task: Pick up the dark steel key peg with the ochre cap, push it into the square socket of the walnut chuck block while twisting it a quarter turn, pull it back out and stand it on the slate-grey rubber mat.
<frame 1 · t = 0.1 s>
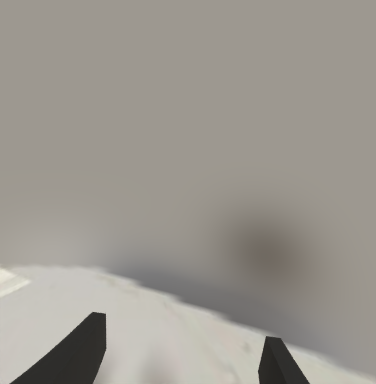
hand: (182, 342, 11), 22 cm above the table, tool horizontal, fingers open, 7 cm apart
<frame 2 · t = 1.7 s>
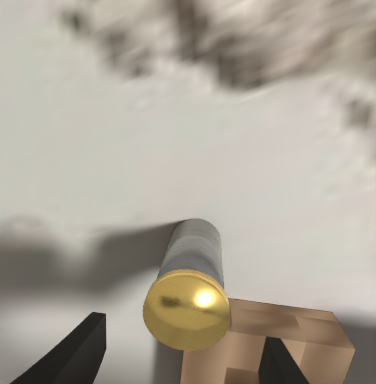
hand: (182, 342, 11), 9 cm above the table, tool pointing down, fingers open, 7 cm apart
steel key peg: (195, 241, 20), on the table
chuck block: (249, 356, 23), on the table
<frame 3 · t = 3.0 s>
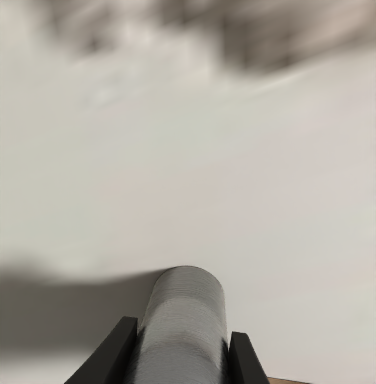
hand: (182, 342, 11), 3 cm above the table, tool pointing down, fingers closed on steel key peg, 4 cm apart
steel key peg: (188, 297, 14), on the table, touching gripper
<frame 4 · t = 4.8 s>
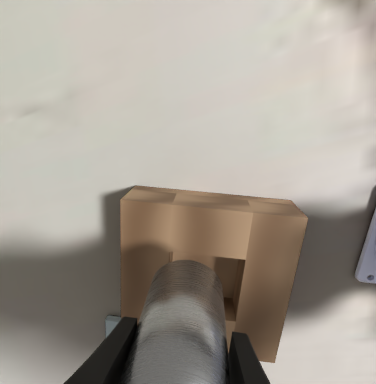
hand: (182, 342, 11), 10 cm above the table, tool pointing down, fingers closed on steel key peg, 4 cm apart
steel key peg: (186, 290, 14), point 7 cm above the table, touching gripper
chuck block: (204, 260, 21), on the table
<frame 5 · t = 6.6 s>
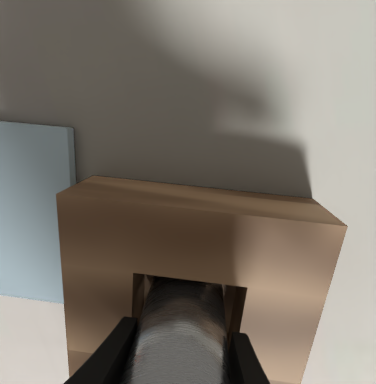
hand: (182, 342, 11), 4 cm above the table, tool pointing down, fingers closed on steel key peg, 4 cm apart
steel key peg: (186, 290, 14), point 1 cm above the table, touching gripper
chuck block: (190, 280, 15), on the table
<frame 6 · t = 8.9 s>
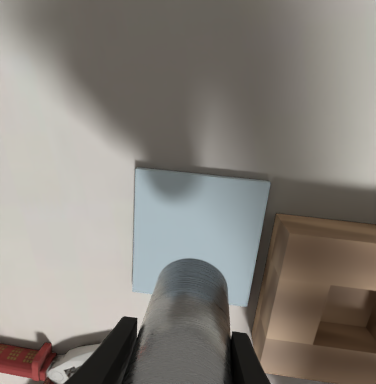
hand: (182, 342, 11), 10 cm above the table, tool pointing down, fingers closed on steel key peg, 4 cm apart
steel key peg: (191, 288, 14), point 7 cm above the table, touching gripper
rubber mat: (195, 238, 21), on the table
pliers: (45, 373, 28), on the table
chuck block: (335, 288, 21), on the table
when the fingers open (4 cm above the table, at t = 10.6 s): steel key peg stays where it is, resting on rubber mat.
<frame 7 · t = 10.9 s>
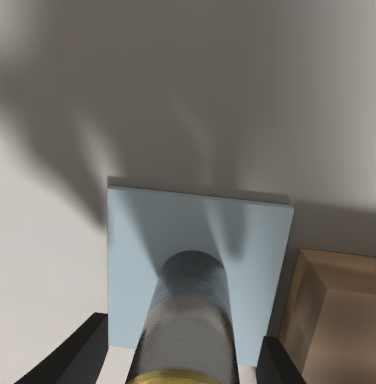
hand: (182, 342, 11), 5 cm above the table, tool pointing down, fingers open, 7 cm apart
steel key peg: (193, 280, 15), point 1 cm above the table, touching rubber mat
rubber mat: (190, 279, 15), on the table
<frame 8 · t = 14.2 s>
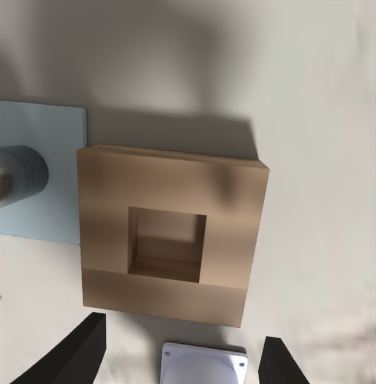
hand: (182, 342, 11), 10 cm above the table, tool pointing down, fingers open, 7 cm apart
steel key peg: (23, 171, 19), point 1 cm above the table, touching rubber mat
rubber mat: (28, 174, 20), on the table
chuck block: (172, 225, 20), on the table
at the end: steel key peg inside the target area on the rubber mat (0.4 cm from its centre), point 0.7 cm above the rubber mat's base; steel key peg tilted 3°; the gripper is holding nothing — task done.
